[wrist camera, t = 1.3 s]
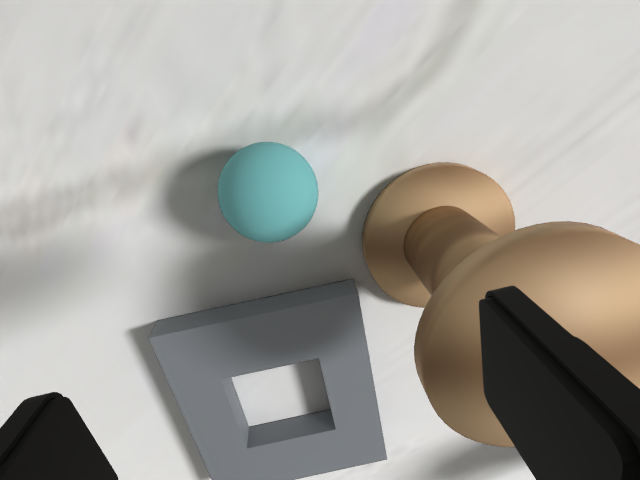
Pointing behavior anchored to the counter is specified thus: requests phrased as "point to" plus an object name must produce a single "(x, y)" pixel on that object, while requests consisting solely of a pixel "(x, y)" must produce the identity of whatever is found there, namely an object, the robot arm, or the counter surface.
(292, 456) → the square hole board
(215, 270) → the counter surface
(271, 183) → the teal ball
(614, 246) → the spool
